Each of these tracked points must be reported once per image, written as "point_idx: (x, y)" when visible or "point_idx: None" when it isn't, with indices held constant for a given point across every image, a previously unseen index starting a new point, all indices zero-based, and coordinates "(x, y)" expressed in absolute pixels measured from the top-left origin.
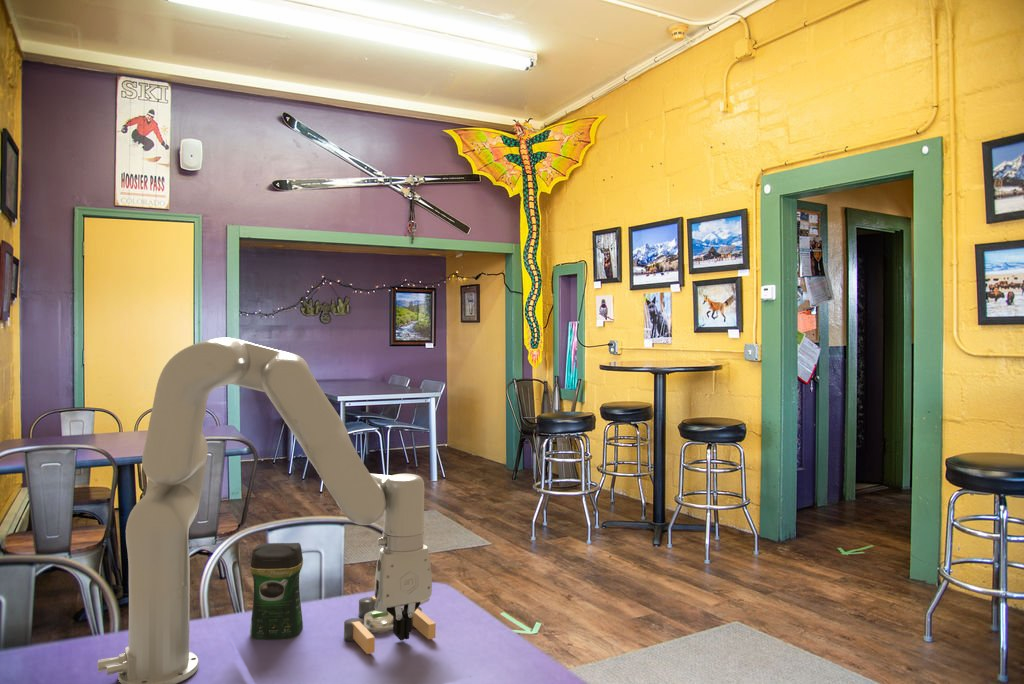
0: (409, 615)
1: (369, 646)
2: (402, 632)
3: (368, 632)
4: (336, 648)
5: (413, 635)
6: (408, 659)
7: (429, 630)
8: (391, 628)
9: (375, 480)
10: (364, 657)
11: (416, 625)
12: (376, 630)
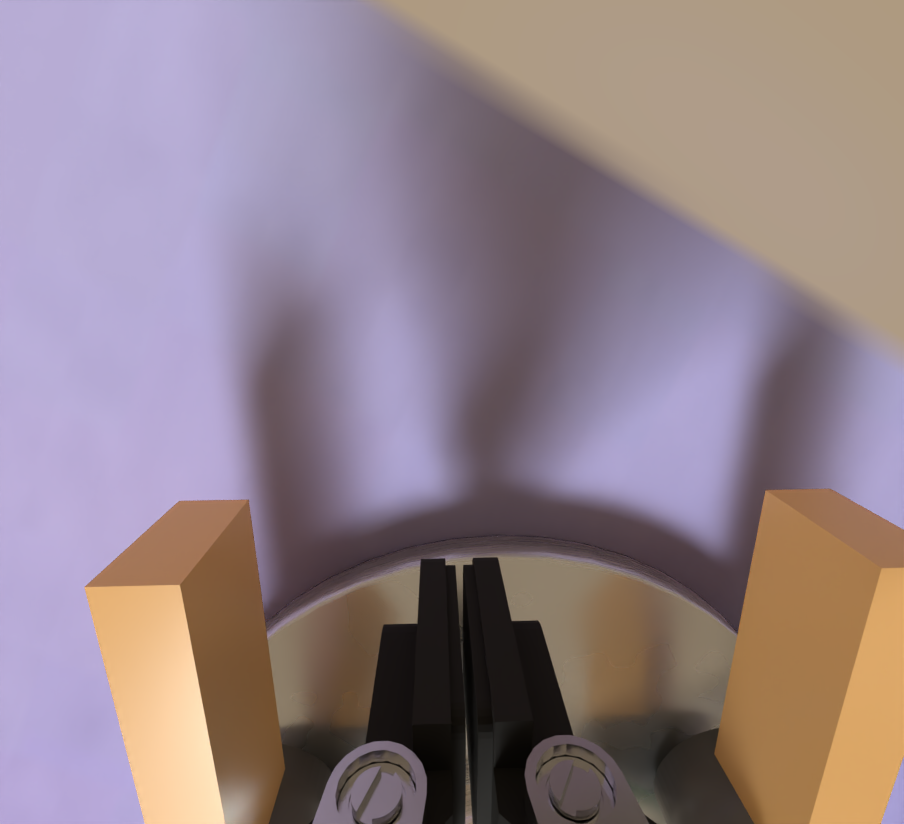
0: (395, 781)
1: (858, 520)
2: (497, 601)
3: (862, 688)
4: None
5: None
6: (471, 401)
7: (204, 545)
8: None
9: None
10: (715, 565)
11: (269, 735)
12: None
